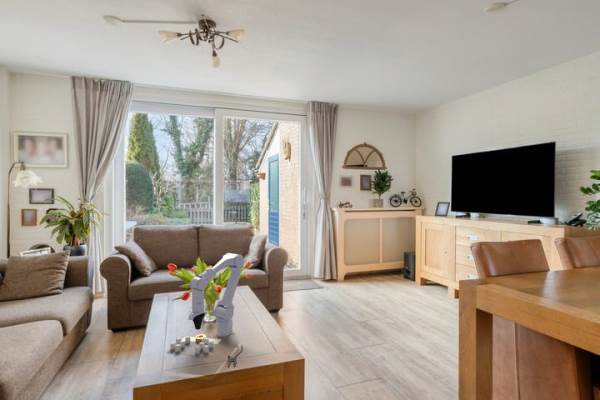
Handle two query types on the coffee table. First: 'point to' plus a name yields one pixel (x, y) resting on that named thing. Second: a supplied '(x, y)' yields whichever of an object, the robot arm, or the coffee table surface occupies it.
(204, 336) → the nut
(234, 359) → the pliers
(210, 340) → the spacer board
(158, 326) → the coffee table surface
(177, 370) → the coffee table surface
